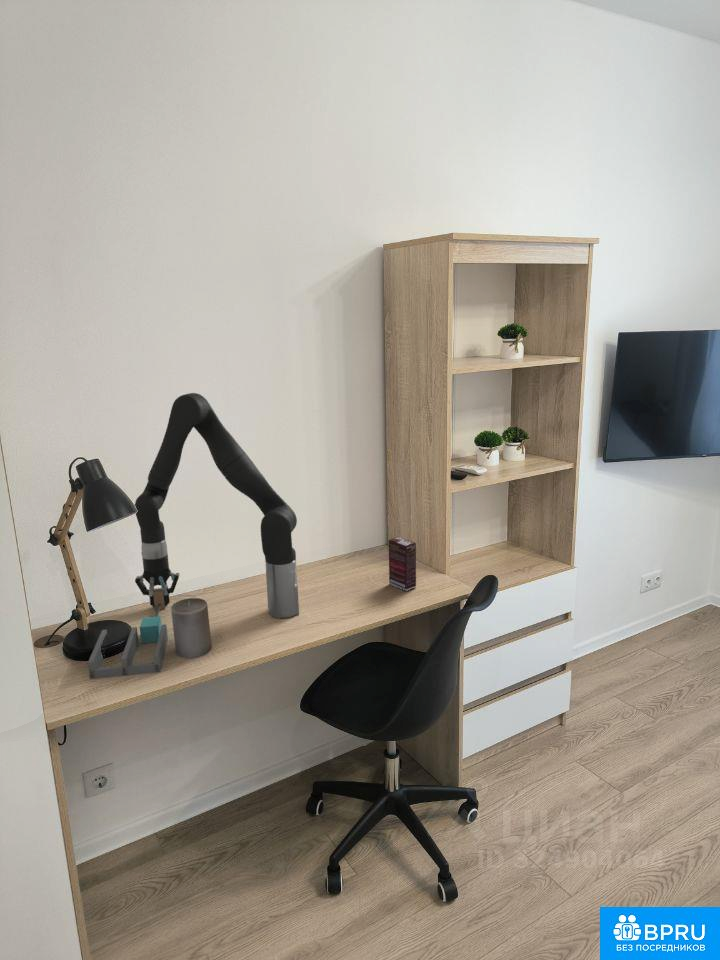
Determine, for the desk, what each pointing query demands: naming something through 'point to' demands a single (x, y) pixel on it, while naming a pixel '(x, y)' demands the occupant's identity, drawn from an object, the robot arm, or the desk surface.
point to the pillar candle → (191, 628)
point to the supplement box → (402, 563)
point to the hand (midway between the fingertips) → (160, 605)
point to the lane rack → (127, 657)
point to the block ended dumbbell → (153, 619)
